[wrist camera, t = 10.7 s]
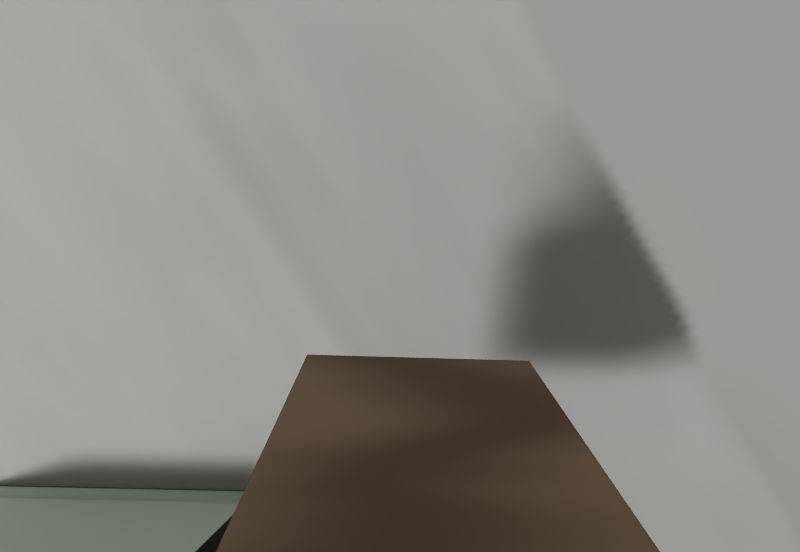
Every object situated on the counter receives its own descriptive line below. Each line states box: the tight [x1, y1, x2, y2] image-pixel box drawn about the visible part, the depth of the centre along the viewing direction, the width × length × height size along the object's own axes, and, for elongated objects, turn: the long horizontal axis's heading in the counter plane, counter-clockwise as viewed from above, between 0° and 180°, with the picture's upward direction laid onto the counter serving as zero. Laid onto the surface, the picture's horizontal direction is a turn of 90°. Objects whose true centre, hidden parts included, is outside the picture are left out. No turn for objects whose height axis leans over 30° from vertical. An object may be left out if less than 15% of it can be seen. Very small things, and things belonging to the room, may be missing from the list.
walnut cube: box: [216, 355, 660, 552], centre depth 7 cm, size 5×5×5 cm
